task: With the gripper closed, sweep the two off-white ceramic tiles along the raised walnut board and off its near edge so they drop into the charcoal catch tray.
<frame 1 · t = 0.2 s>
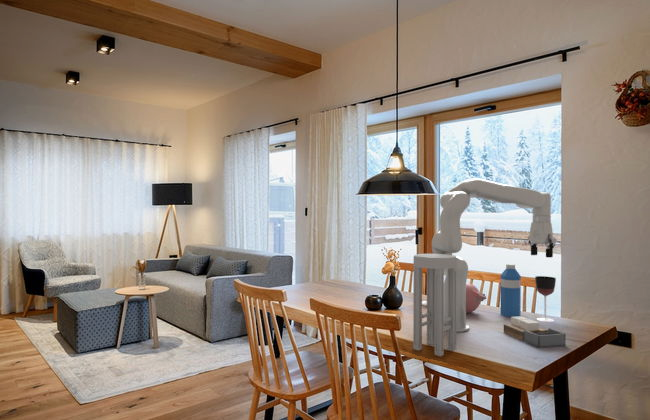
hand: (541, 256, 201), 31 cm above the table, fingers open, 9 cm apart
wineglass: (545, 320, 206), on the table
water bottle: (510, 315, 216), on the table
tile front: (529, 328, 178), point 3 cm above the table, touching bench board
pomegranate: (468, 314, 218), on the table
tile rear: (520, 325, 183), point 3 cm above the table, touching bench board
panda figurine: (430, 304, 240), on the table
stool: (434, 349, 162), on the table
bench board: (525, 335, 180), on the table
catch tray: (544, 343, 170), on the table
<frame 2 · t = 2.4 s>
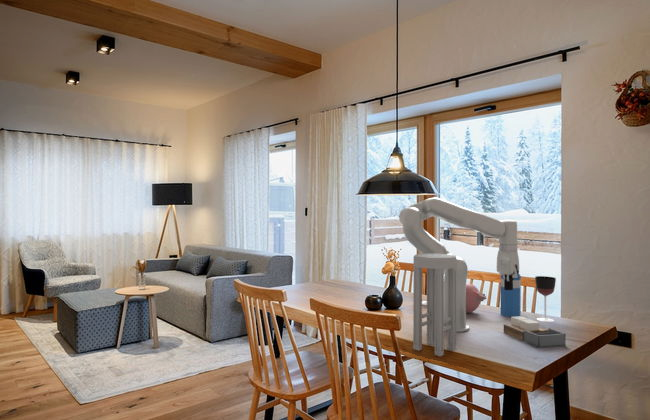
hand: (508, 289, 191), 17 cm above the table, fingers closed
nothing on the table moved.
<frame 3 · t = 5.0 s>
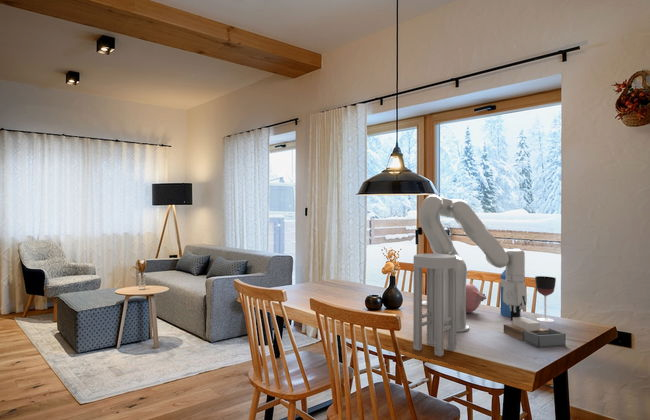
hand: (515, 320, 186), 4 cm above the table, fingers closed
tile front: (529, 328, 177), point 4 cm above the table, touching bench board, tile rear
tile rear: (521, 325, 182), point 4 cm above the table, touching gripper, tile front
everything else where it was.
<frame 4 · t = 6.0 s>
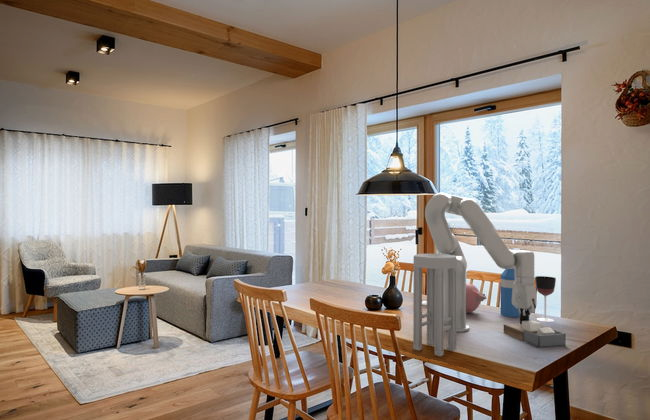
hand: (524, 324, 181), 4 cm above the table, fingers closed
tile front: (542, 332, 170), point 4 cm above the table, tilted 114°, touching catch tray
tile rear: (531, 329, 176), point 4 cm above the table, touching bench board, gripper
everything else where it was.
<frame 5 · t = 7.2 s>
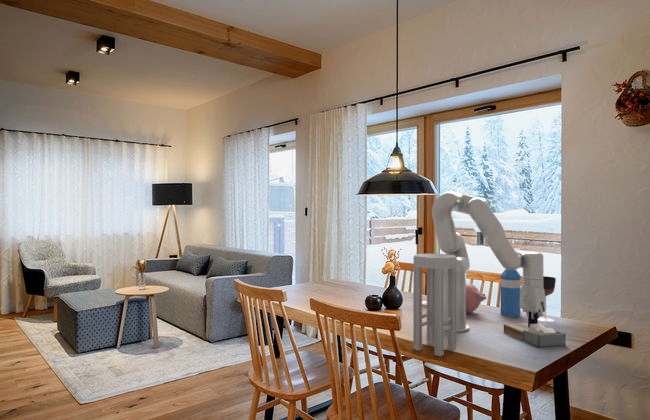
hand: (532, 328, 176), 4 cm above the table, fingers closed
tile front: (543, 333, 170), point 4 cm above the table, tilted 110°, touching catch tray, tile rear
tile rear: (538, 333, 172), point 3 cm above the table, tilted 20°, touching gripper, tile front
everything else where it was.
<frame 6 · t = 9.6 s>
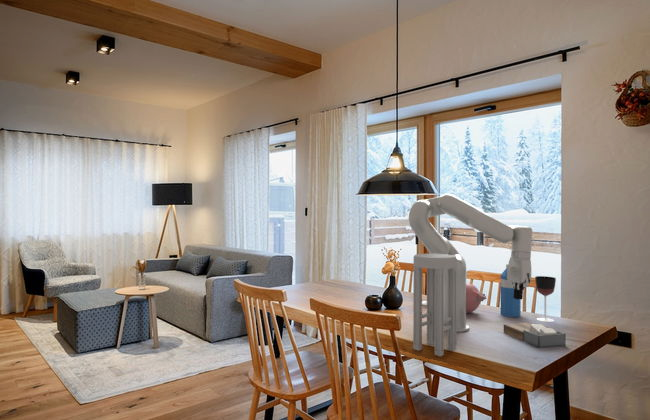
hand: (517, 298, 183), 15 cm above the table, fingers closed
tile rear: (538, 334, 172), point 3 cm above the table, tilted 19°, touching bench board, tile front
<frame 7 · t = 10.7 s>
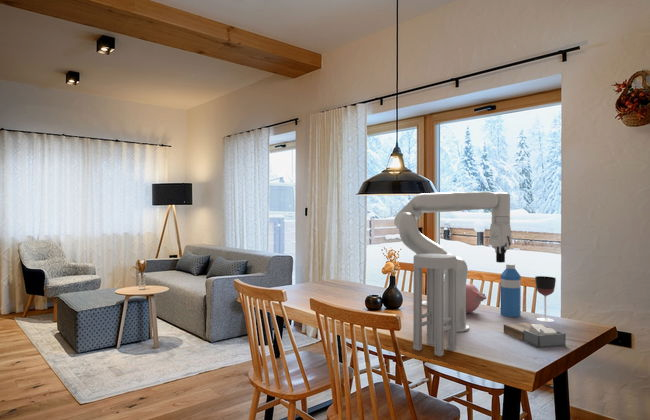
hand: (500, 262, 191), 29 cm above the table, fingers closed
nothing on the table moved.
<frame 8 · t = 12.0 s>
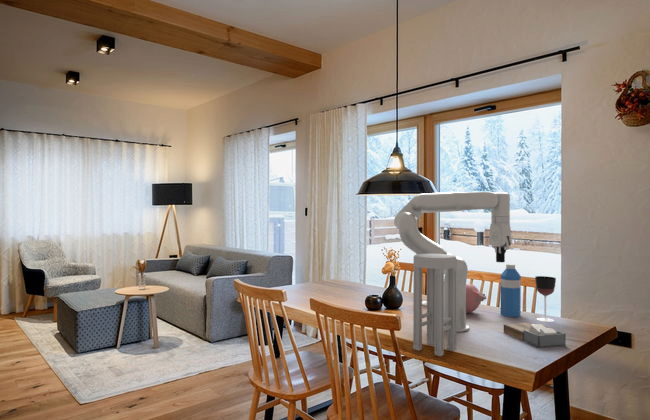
hand: (500, 262, 191), 29 cm above the table, fingers closed
nothing on the table moved.
at the end: tile front inside the target area on the catch tray (0.1 cm from its centre), point 3.8 cm above the catch tray's base; tile rear inside the target area on the catch tray (3.0 cm from its centre), point 2.8 cm above the catch tray's base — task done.
